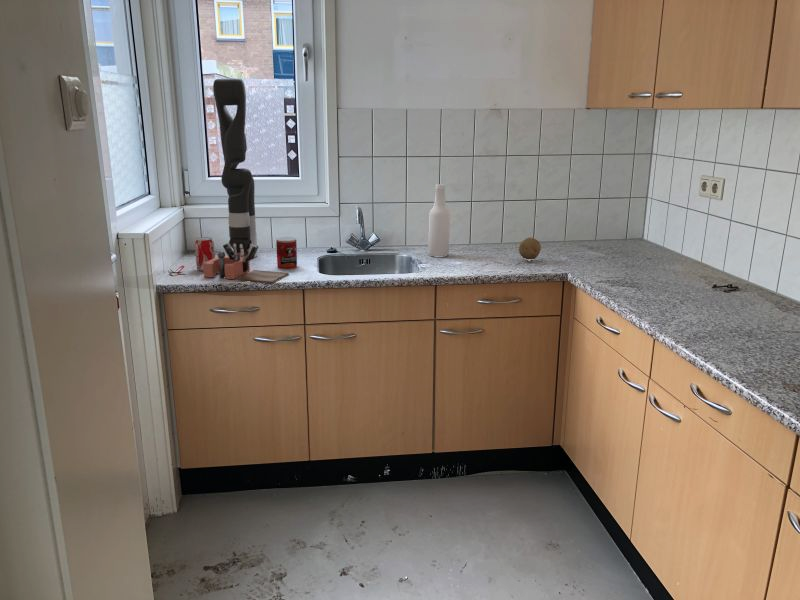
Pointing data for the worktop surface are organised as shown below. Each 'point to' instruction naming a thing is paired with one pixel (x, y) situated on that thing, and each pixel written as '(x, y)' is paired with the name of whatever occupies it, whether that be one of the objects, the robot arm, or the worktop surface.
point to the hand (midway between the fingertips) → (242, 271)
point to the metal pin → (221, 264)
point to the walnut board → (262, 276)
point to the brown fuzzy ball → (529, 248)
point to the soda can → (204, 251)
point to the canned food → (286, 252)
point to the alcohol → (439, 225)
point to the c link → (231, 268)
